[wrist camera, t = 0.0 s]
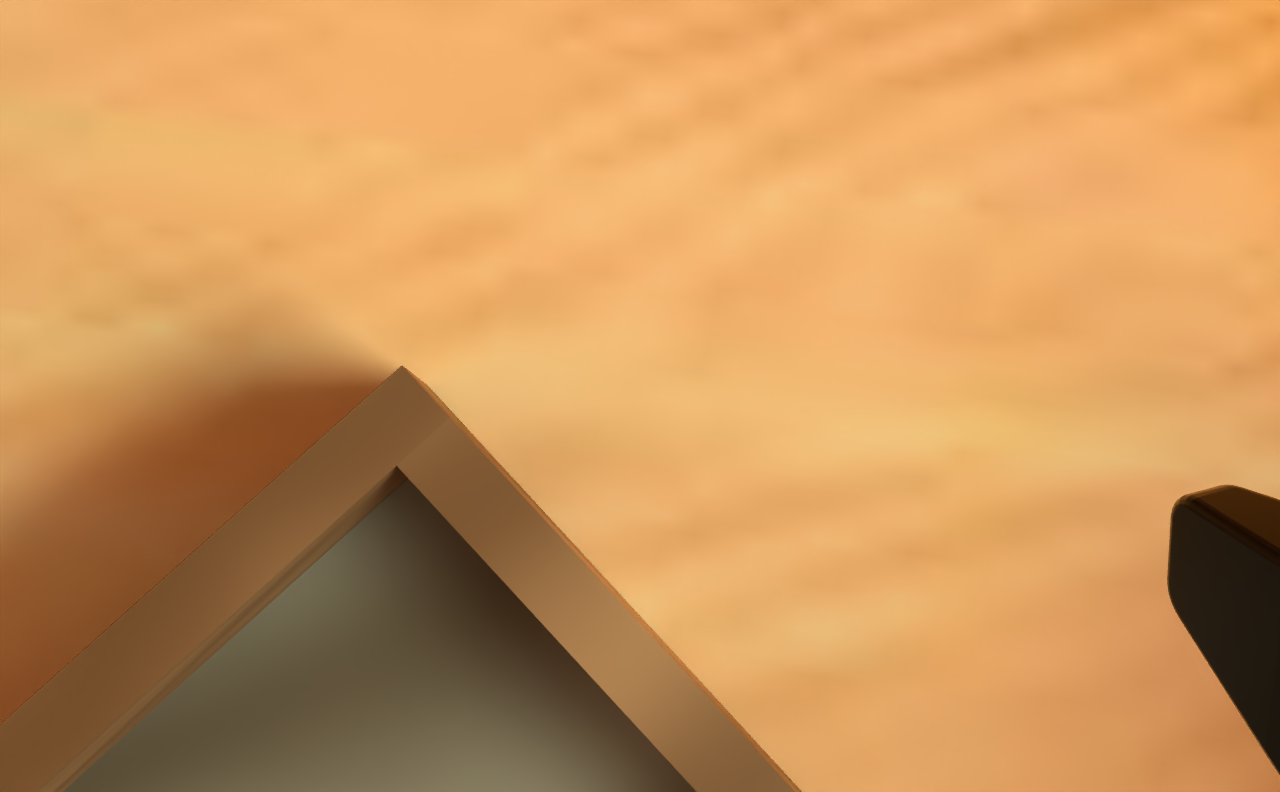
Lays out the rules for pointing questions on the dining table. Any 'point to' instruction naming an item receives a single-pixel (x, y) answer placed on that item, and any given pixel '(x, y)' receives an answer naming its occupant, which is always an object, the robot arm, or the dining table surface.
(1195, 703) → the dining table surface
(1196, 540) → the robot arm
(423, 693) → the tray
